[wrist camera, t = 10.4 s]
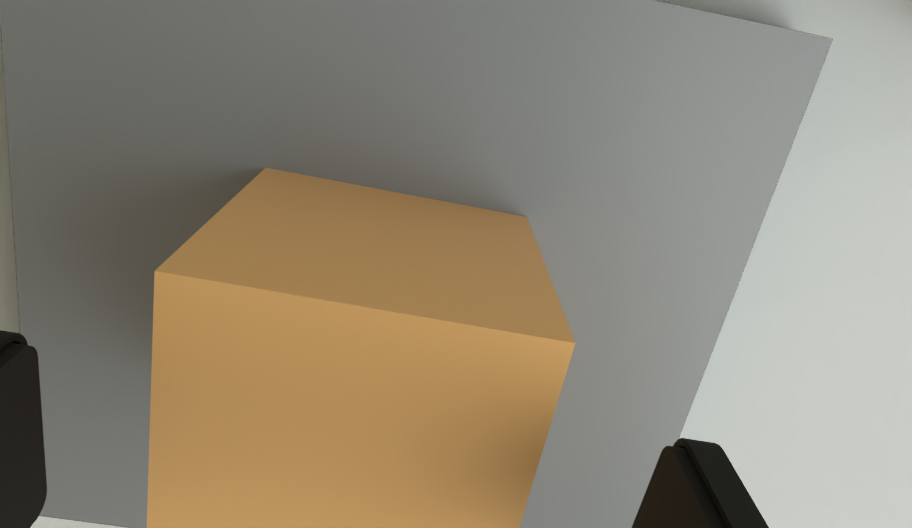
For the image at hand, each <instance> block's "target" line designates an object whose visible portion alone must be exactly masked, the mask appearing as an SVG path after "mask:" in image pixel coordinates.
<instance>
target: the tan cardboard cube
mask: <svg viewBox="0 0 912 528" xmlns="http://www.w3.org/2000/svg"><path fill="white" fill-rule="evenodd" d="M574 346H575V341H574V338H573V336H572V333H571V331H570V328H569V325H568V323H567V320H566V318H565V315H564V312H563V310H562V307H561V305H560V302H559V299H558V297H557V294H556V292H555V289H554V286H553V284H552V281H551V278H550V276H549V273H548V271H547V268H546V265H545V263H544V260H543V258H542V255H541V252H540V250H539V247H538V245H537V242H536V239H535V237H534V234H533V232H532V229H531V226H530V224H529V221H528V219H527V217H525V216H520V215H514V214H509V213H504V212H498V211H493V210H488V209H482V208H477V207H472V206H467V205H461V204H456V203H451V202H445V201H440V200H435V199H429V198H424V197H419V196H414V195H408V194H403V193H398V192H392V191H387V190H382V189H376V188H371V187H366V186H360V185H355V184H350V183H345V182H339V181H334V180H329V179H323V178H318V177H313V176H307V175H302V174H297V173H292V172H286V171H281V170H276V169H270V168H265V169H264V170H263V171H262V172H261V173H259V174H258V175H257V176H256V177H255V178H254V179H253V180H252V181H251V182H250V183H249V184H248V185H247V186H245V187H244V188H243V189H242V190H241V191H240V192H239V193H238V194H237V195H236V196H235V197H234V198H233V199H231V200H230V201H229V202H228V203H227V204H226V205H225V206H224V207H223V208H222V209H221V210H220V211H219V212H217V213H216V214H215V215H214V216H213V217H212V218H211V219H210V220H209V221H208V222H207V223H206V224H205V225H203V226H202V227H201V228H200V229H199V230H198V231H197V232H196V233H195V234H194V235H193V236H192V237H191V238H189V239H188V240H187V241H186V242H185V243H184V244H183V245H182V246H181V247H180V248H179V249H178V250H177V251H175V252H174V253H173V254H172V255H171V256H170V257H169V258H168V259H167V260H166V261H165V262H164V263H163V264H161V265H160V266H159V267H158V268H157V269H156V270H155V273H154V305H153V337H152V370H151V402H150V434H149V466H148V498H147V528H519V527H520V523H521V520H522V517H523V514H524V510H525V507H526V504H527V500H528V497H529V494H530V491H531V487H532V484H533V481H534V477H535V474H536V471H537V468H538V464H539V461H540V458H541V454H542V451H543V448H544V445H545V441H546V438H547V435H548V431H549V428H550V425H551V422H552V418H553V415H554V412H555V409H556V405H557V402H558V399H559V395H560V392H561V389H562V386H563V382H564V379H565V376H566V372H567V369H568V366H569V363H570V359H571V356H572V353H573V349H574Z"/></svg>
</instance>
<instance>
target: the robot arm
mask: <svg viewBox="0 0 912 528" xmlns="http://www.w3.org/2000/svg"><path fill="white" fill-rule="evenodd" d="M46 496H47V481H46V466H45V451H44V436H43V422H42V407H41V392H40V377H39V363H38V354H37V350H36V349H35V347H33V346H29V345H28V344H27V340H26V339H25V337H24V336H23V335H21V334H19V333H13V332H7V331H0V528H30V527H31V525H32V524H33V523H34V522H35V520H36V519H37V518H38V516H39V515H40V513H41V511H42V509H43V506H44V504H45V501H46ZM632 528H769V527H768V526H767V524H766V522H765V521H764V519H763V517H762V515H761V514H760V512H759V510H758V509H757V507H756V505H755V503H754V502H753V500H752V498H751V497H750V495H749V493H748V492H747V490H746V488H745V486H744V485H743V483H742V481H741V480H740V478H739V476H738V474H737V473H736V471H735V469H734V468H733V466H732V464H731V463H730V461H729V459H728V457H727V456H726V454H725V452H724V451H723V449H722V448H721V447H720V446H719V445H718V444H715V443H710V442H704V441H697V440H691V439H685V438H681V439H678V440H677V441H676V442H675V443H674V445H673V446H666V447H665V448H663V450H662V452H661V454H660V457H659V459H658V462H657V464H656V467H655V469H654V472H653V474H652V477H651V479H650V482H649V485H648V487H647V490H646V492H645V495H644V497H643V500H642V502H641V505H640V507H639V510H638V513H637V515H636V518H635V520H634V523H633V525H632Z"/></svg>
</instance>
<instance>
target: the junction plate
mask: <svg viewBox="0 0 912 528" xmlns="http://www.w3.org/2000/svg"><path fill="white" fill-rule="evenodd" d="M0 24H1V40H2V56H3V72H4V88H5V104H6V119H7V135H8V151H9V167H10V183H11V199H12V214H13V230H14V246H15V262H16V278H17V294H18V309H19V325H20V334H21V335H23V336H24V337H25V339H26V340H27V344H28V345H29V346H33V347H35V349H36V350H37V354H38V363H39V377H40V392H41V407H42V422H43V436H44V451H45V466H46V481H47V496H46V501H45V504H44V506H43V509H42V511H41V513H40V515H39V516H44V517H51V518H59V519H67V520H74V521H82V522H89V523H97V524H105V525H112V526H120V527H128V528H147V498H148V466H149V434H150V402H151V370H152V337H153V305H154V273H155V270H156V269H157V268H158V267H159V266H160V265H161V264H163V263H164V262H165V261H166V260H167V259H168V258H169V257H170V256H171V255H172V254H173V253H174V252H175V251H177V250H178V249H179V248H180V247H181V246H182V245H183V244H184V243H185V242H186V241H187V240H188V239H189V238H191V237H192V236H193V235H194V234H195V233H196V232H197V231H198V230H199V229H200V228H201V227H202V226H203V225H205V224H206V223H207V222H208V221H209V220H210V219H211V218H212V217H213V216H214V215H215V214H216V213H217V212H219V211H220V210H221V209H222V208H223V207H224V206H225V205H226V204H227V203H228V202H229V201H230V200H231V199H233V198H234V197H235V196H236V195H237V194H238V193H239V192H240V191H241V190H242V189H243V188H244V187H245V186H247V185H248V184H249V183H250V182H251V181H252V180H253V179H254V178H255V177H256V176H257V175H258V174H259V173H261V172H262V171H263V170H264V169H265V168H270V169H276V170H281V171H286V172H292V173H297V174H302V175H307V176H313V177H318V178H323V179H329V180H334V181H339V182H345V183H350V184H355V185H360V186H366V187H371V188H376V189H382V190H387V191H392V192H398V193H403V194H408V195H414V196H419V197H424V198H429V199H435V200H440V201H445V202H451V203H456V204H461V205H467V206H472V207H477V208H482V209H488V210H493V211H498V212H504V213H509V214H514V215H520V216H525V217H527V219H528V221H529V224H530V226H531V229H532V232H533V234H534V237H535V239H536V242H537V245H538V247H539V250H540V252H541V255H542V258H543V260H544V263H545V265H546V268H547V271H548V273H549V276H550V278H551V281H552V284H553V286H554V289H555V292H556V294H557V297H558V299H559V302H560V305H561V307H562V310H563V312H564V315H565V318H566V320H567V323H568V325H569V328H570V331H571V333H572V336H573V338H574V341H575V346H574V349H573V353H572V356H571V359H570V363H569V366H568V369H567V372H566V376H565V379H564V382H563V386H562V389H561V392H560V395H559V399H558V402H557V405H556V409H555V412H554V415H553V418H552V422H551V425H550V428H549V431H548V435H547V438H546V441H545V445H544V448H543V451H542V454H541V458H540V461H539V464H538V468H537V471H536V474H535V477H534V481H533V484H532V487H531V491H530V494H529V497H528V500H527V504H526V507H525V510H524V514H523V517H522V520H521V523H520V527H519V528H632V525H633V523H634V520H635V518H636V515H637V513H638V510H639V507H640V505H641V502H642V500H643V497H644V495H645V492H646V490H647V487H648V485H649V482H650V479H651V477H652V474H653V472H654V469H655V467H656V464H657V462H658V459H659V457H660V454H661V452H662V450H663V448H665V447H666V446H673V445H674V443H675V442H676V441H677V440H678V439H679V437H680V434H681V431H682V429H683V426H684V424H685V421H686V418H687V416H688V413H689V411H690V408H691V406H692V403H693V400H694V398H695V395H696V393H697V390H698V387H699V385H700V382H701V380H702V377H703V374H704V372H705V369H706V367H707V364H708V362H709V359H710V356H711V354H712V351H713V349H714V346H715V343H716V341H717V338H718V336H719V333H720V330H721V328H722V325H723V323H724V320H725V318H726V315H727V312H728V310H729V307H730V305H731V302H732V299H733V297H734V294H735V292H736V289H737V286H738V284H739V281H740V279H741V276H742V274H743V271H744V268H745V266H746V263H747V261H748V258H749V255H750V253H751V250H752V248H753V245H754V242H755V240H756V237H757V235H758V232H759V230H760V227H761V224H762V222H763V219H764V217H765V214H766V211H767V209H768V206H769V204H770V201H771V198H772V196H773V193H774V191H775V188H776V186H777V183H778V180H779V178H780V175H781V173H782V170H783V167H784V165H785V162H786V160H787V157H788V154H789V152H790V149H791V147H792V144H793V142H794V139H795V136H796V134H797V131H798V129H799V126H800V123H801V121H802V118H803V116H804V113H805V110H806V108H807V105H808V103H809V100H810V98H811V95H812V92H813V90H814V87H815V85H816V82H817V79H818V77H819V74H820V72H821V69H822V66H823V64H824V61H825V59H826V56H827V54H828V51H829V48H830V46H831V43H832V41H833V38H828V37H823V36H819V35H814V34H809V33H805V32H800V31H795V30H791V29H786V28H781V27H777V26H772V25H767V24H763V23H758V22H753V21H749V20H744V19H739V18H735V17H730V16H725V15H721V14H716V13H711V12H707V11H702V10H697V9H693V8H688V7H683V6H679V5H674V4H669V3H665V2H660V1H655V0H0Z"/></svg>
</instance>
